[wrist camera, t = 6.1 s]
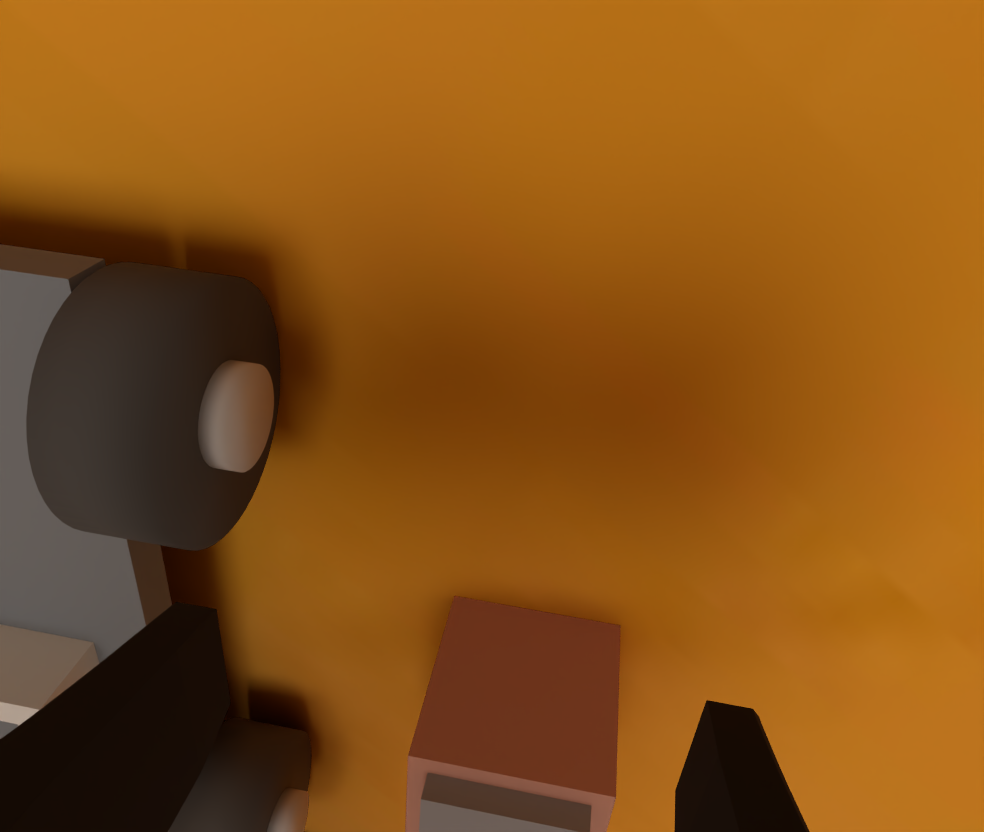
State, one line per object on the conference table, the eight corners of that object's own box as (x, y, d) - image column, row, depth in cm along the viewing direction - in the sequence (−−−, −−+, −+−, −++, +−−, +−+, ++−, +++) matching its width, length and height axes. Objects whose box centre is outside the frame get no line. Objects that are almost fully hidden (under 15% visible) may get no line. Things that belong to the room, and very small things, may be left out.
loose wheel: (308, 455, 21) (201, 615, 16) (203, 438, 21) (66, 590, 16) (295, 243, 18) (157, 356, 13) (173, 226, 18) (-10, 331, 13)
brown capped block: (594, 731, 25) (583, 935, 20) (446, 702, 26) (397, 894, 20) (620, 624, 22) (615, 826, 17) (454, 594, 23) (400, 782, 18)
